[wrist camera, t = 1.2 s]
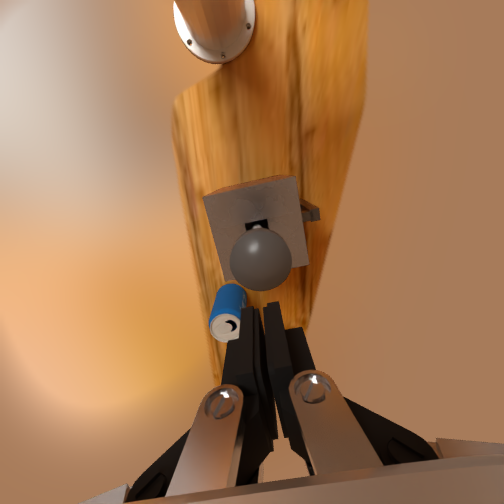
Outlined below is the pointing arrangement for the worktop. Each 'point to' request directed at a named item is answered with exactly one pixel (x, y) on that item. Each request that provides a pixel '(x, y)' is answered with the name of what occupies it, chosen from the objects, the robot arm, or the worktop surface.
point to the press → (259, 215)
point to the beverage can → (227, 312)
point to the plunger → (260, 257)
